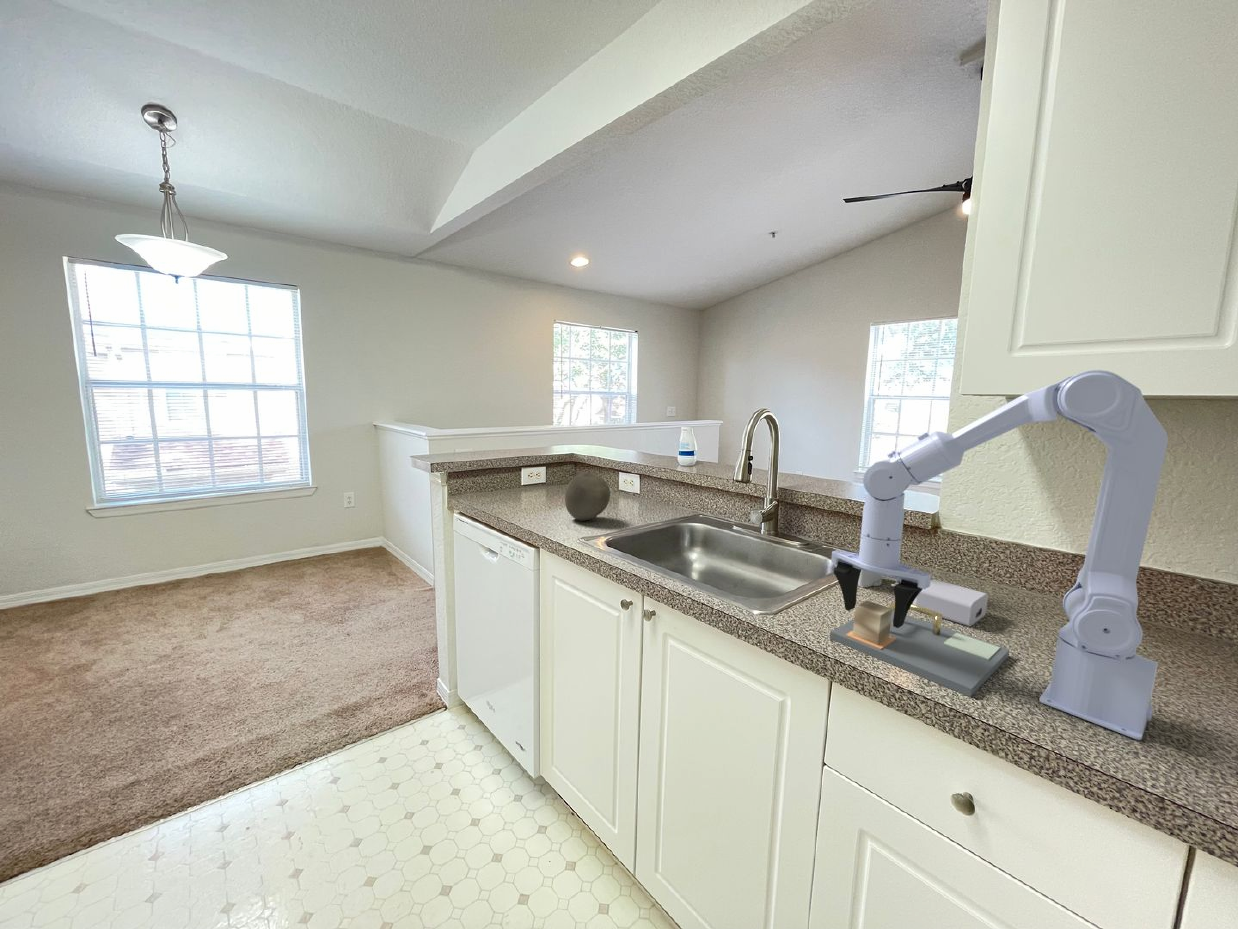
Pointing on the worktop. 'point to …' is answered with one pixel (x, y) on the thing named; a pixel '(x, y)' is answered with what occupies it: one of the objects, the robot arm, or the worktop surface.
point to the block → (872, 622)
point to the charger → (953, 602)
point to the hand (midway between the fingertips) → (873, 616)
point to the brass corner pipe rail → (928, 612)
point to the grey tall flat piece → (869, 579)
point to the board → (932, 653)
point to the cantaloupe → (586, 496)
